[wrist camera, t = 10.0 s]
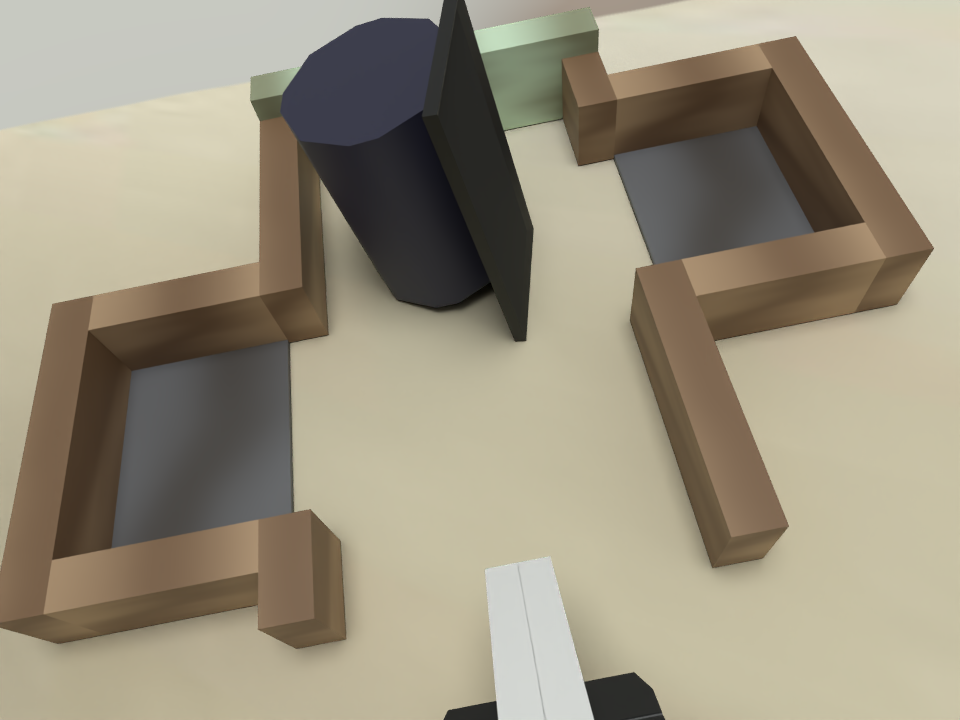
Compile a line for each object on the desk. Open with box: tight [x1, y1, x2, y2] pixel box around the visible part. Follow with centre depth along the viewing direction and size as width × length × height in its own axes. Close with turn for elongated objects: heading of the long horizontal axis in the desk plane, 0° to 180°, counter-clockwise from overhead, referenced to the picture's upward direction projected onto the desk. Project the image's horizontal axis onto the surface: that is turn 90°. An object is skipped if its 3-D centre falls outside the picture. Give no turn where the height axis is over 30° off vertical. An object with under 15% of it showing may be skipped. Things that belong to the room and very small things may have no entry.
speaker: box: [280, 0, 533, 341], centre depth 24 cm, size 8×6×10 cm
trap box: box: [0, 7, 934, 649], centre depth 25 cm, size 29×22×4 cm
